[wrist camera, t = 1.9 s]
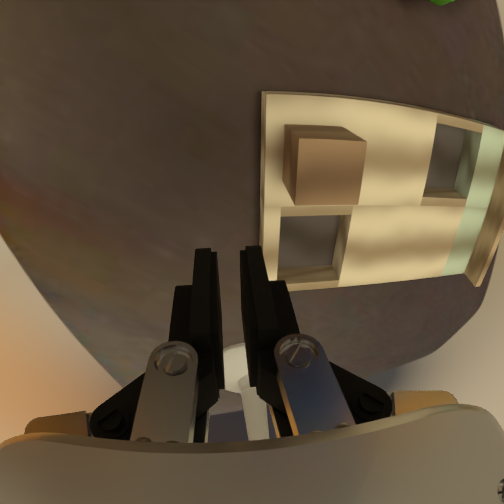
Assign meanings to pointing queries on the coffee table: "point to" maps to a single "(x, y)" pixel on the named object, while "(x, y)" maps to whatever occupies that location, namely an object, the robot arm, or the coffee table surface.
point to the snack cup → (441, 2)
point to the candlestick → (245, 391)
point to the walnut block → (322, 164)
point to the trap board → (384, 196)
